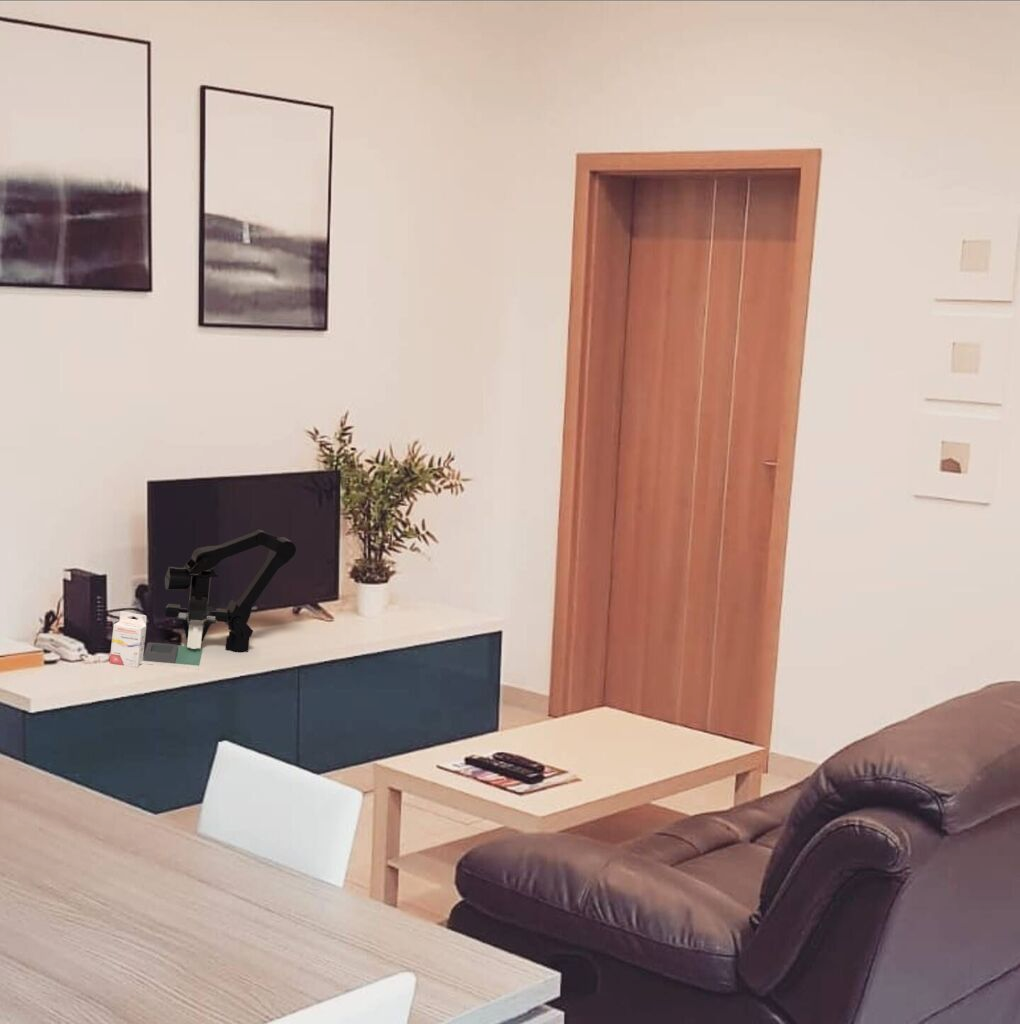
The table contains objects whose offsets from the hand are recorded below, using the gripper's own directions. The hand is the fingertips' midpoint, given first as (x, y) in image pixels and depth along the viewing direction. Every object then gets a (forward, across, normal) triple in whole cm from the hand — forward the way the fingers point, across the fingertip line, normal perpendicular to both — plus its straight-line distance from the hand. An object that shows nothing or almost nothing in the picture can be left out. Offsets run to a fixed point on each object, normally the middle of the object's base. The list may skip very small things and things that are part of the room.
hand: (194, 640), depth 464 cm
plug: (+2, 0, 0) cm, 2 cm away
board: (+4, -5, -7) cm, 10 cm away
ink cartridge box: (+4, -18, -18) cm, 26 cm away
